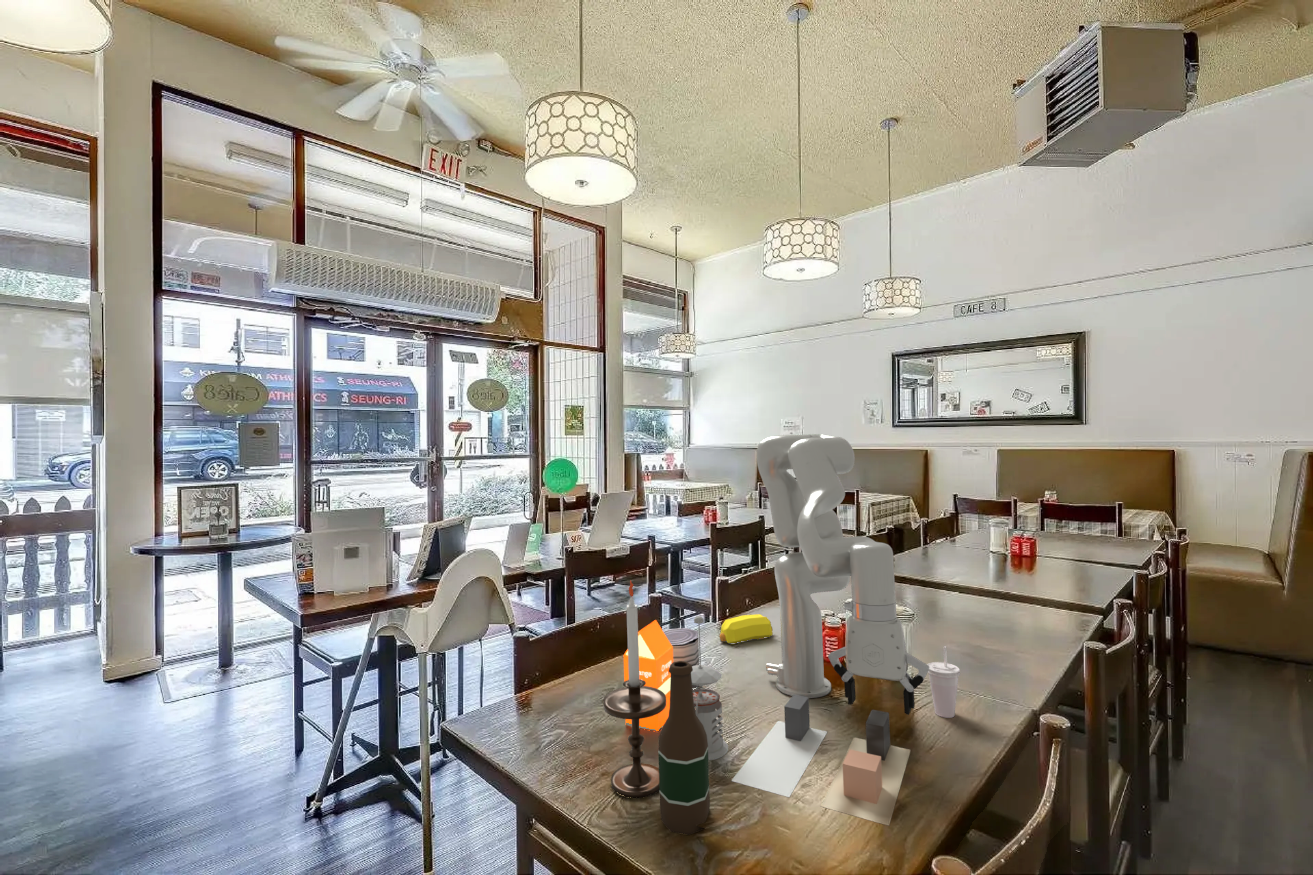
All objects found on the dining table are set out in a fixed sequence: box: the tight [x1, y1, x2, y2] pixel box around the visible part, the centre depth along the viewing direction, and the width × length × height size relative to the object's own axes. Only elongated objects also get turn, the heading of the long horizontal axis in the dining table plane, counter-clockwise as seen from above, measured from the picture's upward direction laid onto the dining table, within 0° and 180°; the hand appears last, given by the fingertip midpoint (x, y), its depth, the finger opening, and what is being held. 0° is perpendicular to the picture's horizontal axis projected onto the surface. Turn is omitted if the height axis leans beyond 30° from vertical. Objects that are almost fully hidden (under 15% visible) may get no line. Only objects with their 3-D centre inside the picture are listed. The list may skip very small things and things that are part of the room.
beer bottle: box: [657, 661, 711, 836], centre depth 90 cm, size 8×8×24 cm
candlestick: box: [603, 579, 666, 799], centre depth 101 cm, size 11×11×35 cm
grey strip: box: [731, 695, 828, 798], centre depth 106 cm, size 10×24×7 cm, turn 149°
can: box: [662, 627, 700, 689], centre depth 142 cm, size 11×11×12 cm
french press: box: [691, 615, 729, 761], centre depth 111 cm, size 10×12×25 cm
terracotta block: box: [843, 748, 882, 804], centre depth 94 cm, size 5×5×5 cm
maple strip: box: [820, 709, 911, 827], centre depth 98 cm, size 10×24×7 cm, turn 149°
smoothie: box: [926, 645, 961, 719], centre depth 122 cm, size 6×6×14 cm
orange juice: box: [623, 619, 673, 732], centre depth 124 cm, size 8×9×20 cm
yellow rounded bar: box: [719, 613, 774, 644], centre depth 173 cm, size 18×7×8 cm
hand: (879, 706), depth 106 cm, fingers open, 9 cm apart
